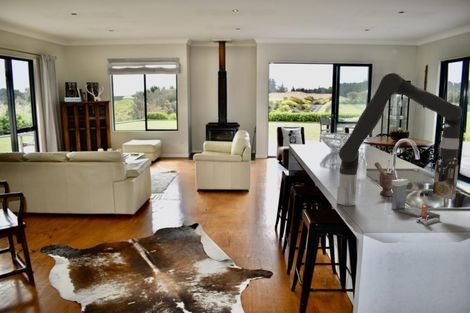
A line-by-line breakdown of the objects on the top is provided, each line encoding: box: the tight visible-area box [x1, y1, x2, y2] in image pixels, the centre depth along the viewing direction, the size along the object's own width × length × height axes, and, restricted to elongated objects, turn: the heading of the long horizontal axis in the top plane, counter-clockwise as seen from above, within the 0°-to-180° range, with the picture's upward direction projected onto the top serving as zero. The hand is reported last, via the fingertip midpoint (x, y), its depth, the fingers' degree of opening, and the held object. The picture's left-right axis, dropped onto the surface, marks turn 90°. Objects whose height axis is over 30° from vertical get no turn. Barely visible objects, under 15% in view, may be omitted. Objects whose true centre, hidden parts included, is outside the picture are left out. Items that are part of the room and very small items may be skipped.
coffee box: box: [431, 163, 460, 200], centre depth 184 cm, size 9×6×16 cm
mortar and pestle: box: [374, 161, 396, 197], centre depth 228 cm, size 12×9×20 cm
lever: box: [419, 204, 429, 224], centre depth 180 cm, size 2×2×8 cm
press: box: [391, 178, 441, 226], centre depth 192 cm, size 18×25×15 cm
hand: (445, 180), depth 184 cm, fingers closed on coffee box, 7 cm apart
